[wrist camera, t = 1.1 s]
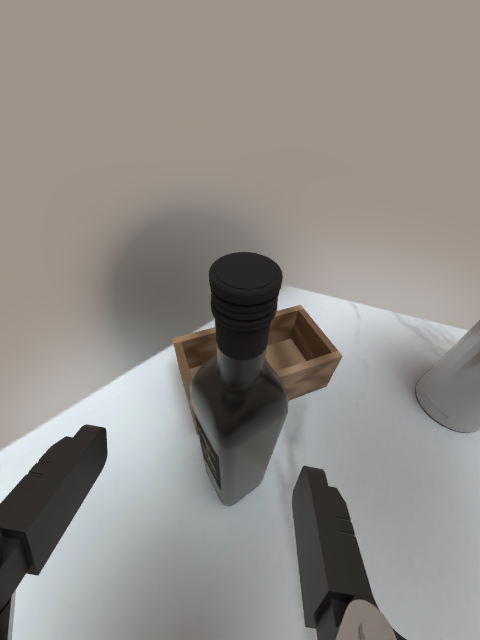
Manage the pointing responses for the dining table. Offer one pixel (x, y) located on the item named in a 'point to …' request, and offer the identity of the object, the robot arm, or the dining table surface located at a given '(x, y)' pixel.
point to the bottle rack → (272, 353)
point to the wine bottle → (240, 377)
